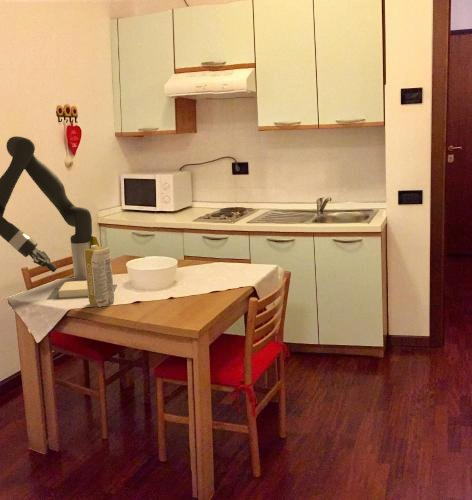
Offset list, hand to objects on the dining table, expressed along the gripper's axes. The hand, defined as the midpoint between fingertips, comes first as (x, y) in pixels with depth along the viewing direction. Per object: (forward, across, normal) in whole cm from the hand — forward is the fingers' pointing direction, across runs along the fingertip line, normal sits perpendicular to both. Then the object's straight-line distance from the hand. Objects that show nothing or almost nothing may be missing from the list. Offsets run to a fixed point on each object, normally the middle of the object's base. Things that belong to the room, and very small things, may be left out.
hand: (55, 270), depth 273 cm
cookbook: (+8, 0, +5) cm, 9 cm away
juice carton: (+23, -18, -7) cm, 30 cm away
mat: (+15, 0, 0) cm, 15 cm away
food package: (+17, +34, -2) cm, 38 cm away
